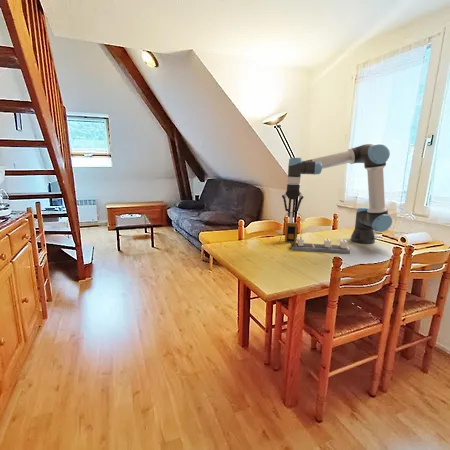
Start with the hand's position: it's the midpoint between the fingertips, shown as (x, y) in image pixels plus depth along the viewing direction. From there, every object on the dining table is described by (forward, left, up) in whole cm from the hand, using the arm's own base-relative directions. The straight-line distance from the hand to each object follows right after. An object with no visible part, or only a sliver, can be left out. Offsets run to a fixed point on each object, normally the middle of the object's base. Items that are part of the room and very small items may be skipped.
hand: (290, 222), depth 179 cm
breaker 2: (-23, 0, -14) cm, 27 cm away
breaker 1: (-7, 0, -14) cm, 16 cm away
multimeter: (-1, -17, -17) cm, 24 cm away
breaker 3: (-32, 0, -14) cm, 35 cm away
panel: (-18, 0, -16) cm, 25 cm away
